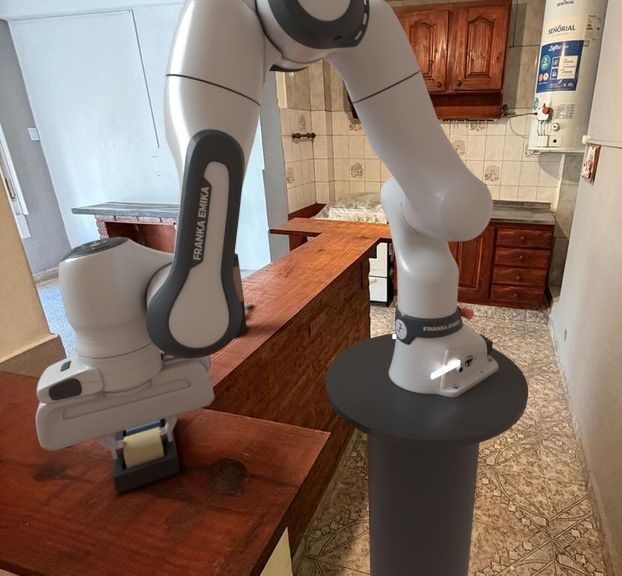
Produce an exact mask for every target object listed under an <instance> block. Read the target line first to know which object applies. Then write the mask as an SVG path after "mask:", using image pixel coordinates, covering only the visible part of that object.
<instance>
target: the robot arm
mask: <svg viewBox="0 0 622 576" xmlns="http://www.w3.org/2000/svg"><path fill="white" fill-rule="evenodd" d="M322 59H323V60H324V61H326V62H327V63H328V64H329V65H330V66H332V67H333V68H334V70H335V71H336V72H337V73H338V75H339V77H340V78H341V79H342V81H343V82H344V85H345V88H346V91H347V93H348V96H349V98H350V101H351V103H352V105H353V108H354V109H355V110H354V111H355V112H356V115H357V117H358V119H359V122H360V124H361V127H362V128H363V131H364V133H365V135H366V138H367V140H368V143H369V145H370V147H371V150H372V152H373V153H374V154H375V156H376V157H377V158H378V159H379V160H380V161H381V162H382V164H384V166H385V167H386V168H387V169H388V171H389V172H390V174H391V175H390V176H389V177H388V178H387V179H386V180H385V182H384V183H383V185H382V187H381V190H380V195H379V201H380V205H381V210H382V211H383V213H384V215H385V217H386V219H387V222H388V227H389V231H390V236H391V240H392V245H393V251H394V256H395V263H396V271H397V273H396V275H397V276H396V277H397V278H396V279H397V282H396V283H397V304H396V306H395V307H394V331H395V332H394V333H396V334H393V339H395V338H396V342H395V349H394V354H393V359H392V363H391V366H390V369H389V377H390V379H391V380H392V381H393V382H394V383H395V384H396V385H398V386H399V387H401V388H403V389H406V390H409V391H412V392H416V393H424V394H439V395H443V396H447V397H457V396H459V395H460V394H462V393H464V392H465V391H467V390H468V389H470V388H471V387H473V386H475V385H476V384H478V383H479V382H481V381H482V380H484V379H485V378H487V377H489V376H490V375H492V374H493V373H495V372H496V371H498V364H497V362H496V361H495V360H494V359H493V358H492V357H491V356H490V355H489V353H490V352H492V348H493V346H494V341H493V340H491V339H489V338H488V337H486V336H485V335H483V334H482V333H478V332H477V331H475V330H474V329H472V328H471V327H469V326H468V325H467V324H465V322H463V318H465V319H466V320H468V321H470V320H472V319H473V317H474V315H475V311H474V310H473V309H471V308H468V307H467V306H464V307H462V308H461V306H460V305H458V296H459V294H458V293H459V276H460V272H459V271H460V270H459V266H458V264H457V262H456V260H455V259H454V257H453V255H452V252H451V249H450V247H449V246H450V245H449V242H467V241H471V240H473V239H475V238H477V237H479V236H480V235H481V234H482V233H483V232H484V231H485V229H486V228H487V226H488V225H489V223H490V221H491V217H492V214H493V209H494V204H493V203H494V202H493V201H494V200H493V196H492V193H491V191H490V188H489V187H488V186H487V184H486V183H485V182H484V181H482V180H481V179H480V178H478V177H477V176H476V175H475V174H474V173H473V171H471V170H470V169H469V168H468V166H467V165H466V163H465V162H464V161H463V159H462V158H461V156H460V155H459V153H458V151H457V150H456V149H455V147H454V146H453V144H452V142H451V141H450V140H449V138H448V136H447V134H446V133H445V131H444V128H443V127H442V125H441V123H440V121H439V119H438V116H437V113H436V111H435V108H434V105H433V102H432V99H431V96H430V94H429V90H428V88H427V86H426V81H425V80H424V77H423V74H422V71H421V68H420V64H419V62H418V59H417V56H416V54H415V52H414V50H413V47H412V45H411V43H410V40H409V39H408V35H407V33H406V32H405V30H404V28H403V26H402V24H401V22H400V20H399V18H398V17H397V15H396V13H395V11H394V10H393V8H392V6H391V5H390V4H389V3H387V2H386V1H385V0H184V2H183V5H182V7H181V11H180V13H179V16H178V19H177V22H176V25H175V28H174V32H173V35H172V40H171V43H170V48H169V52H168V57H167V63H166V71H165V78H164V85H163V86H164V87H163V101H162V102H163V126H164V136H165V139H166V143H167V145H168V148H169V150H170V153H171V155H172V158H173V160H174V163H175V167H176V172H177V177H178V183H179V204H178V214H177V221H176V232H175V239H174V248H173V253H172V252H171V253H170V252H165V251H161V250H157V249H154V248H150V247H147V246H145V245H142V244H140V243H137V242H136V241H133V240H132V239H130V238H129V237H122V236H114V237H106V238H101V239H96V240H92V241H89V242H86V243H82V244H81V245H79V246H75V247H73V248H72V249H70V250H69V251H68V252H67V253H66V254H65V255H64V256H63V257H62V259H61V260H60V261H59V264H58V272H57V273H58V285H59V291H60V296H61V302H62V304H63V308H64V313H65V316H66V321H67V322H68V324H69V325H70V327H71V328H72V329H73V331H74V335H75V338H76V341H75V352H76V353H74V354H72V355H70V356H69V357H68V356H67V357H66V358H64V359H61V360H59V361H57V362H55V363H53V364H51V365H49V366H47V367H46V368H45V369H44V371H43V373H42V374H41V375H40V378H39V380H38V383H37V385H36V386H37V387H36V396H37V399H38V401H39V403H38V407H37V409H36V410H37V411H36V413H35V427H36V435H37V438H38V443H39V445H40V447H41V448H43V449H45V450H46V451H49V452H55V451H58V450H62V449H65V448H68V447H72V446H75V445H78V444H82V443H86V442H89V441H93V440H96V442H97V444H98V445H99V446H101V447H103V448H104V449H106V450H107V451H109V452H110V453H111V456H112V460H113V461H114V460H115V459H118V458H121V457H124V439H123V440H120V441H116V440H115V438H113V437H112V436H111V435H112V434H113V435H114V434H115V433H116V432H120V431H123V430H127V429H130V428H133V427H137V426H140V425H144V424H147V423H150V422H154V421H157V420H161V419H164V418H166V425H165V427H163V428H160V429H159V435H160V438H161V442H162V444H164V443H167V442H171V441H173V440H172V433H171V432H172V430H173V431H174V428H175V426H176V424H177V422H178V417H177V415H181V414H184V413H188V412H191V411H194V410H195V411H196V410H198V409H201V408H205V407H208V406H210V405H211V404H212V402H213V401H214V399H215V392H214V389H213V385H212V382H211V378H210V376H209V370H210V369H211V366H212V361H211V355H214V354H216V353H218V352H220V351H222V350H223V349H224V348H226V347H227V346H228V345H229V344H230V343H231V342H232V341H233V340H234V339H235V338H236V337H235V336H236V334H237V333H238V331H239V329H240V326H241V322H242V308H241V304H240V300H239V297H238V294H237V291H236V288H235V284H234V277H233V266H234V256H235V253H236V247H237V239H238V238H237V237H238V230H239V229H238V228H239V221H240V219H239V218H240V213H241V212H240V211H241V205H242V204H241V203H242V195H243V187H244V183H245V178H246V174H247V170H248V167H249V163H250V157H251V154H252V150H253V147H254V143H255V140H256V135H257V130H258V125H259V121H260V115H261V109H262V101H263V95H264V86H265V82H266V81H267V76H268V74H269V72H279V73H297V72H301V71H304V70H305V69H307V68H309V67H310V66H312V65H314V64H316V63H318V62H319V61H321V60H322Z"/></svg>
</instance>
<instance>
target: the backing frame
mask: <svg viewBox="0 0 622 576" xmlns="http://www.w3.org/2000/svg"><path fill="white" fill-rule="evenodd" d="M161 422H162V428H163V427H165V425H166V418H164V419H161ZM171 433H172V440H173V441H171V442H167V443H164V444H163V448H164V456H163V457H160V458H157V459H154V460H151V461H148V462H145V463H142V464H139V465H136V466H133V467H130V468H127V466H126V462H125V458H124V457H121V458H118V459H115V460H114V459H113V482H114V485H115V489H116V492H117V495H120V494H123V493H126V492H128V491H131V490H133V489H137V488H140V487H142V486H145V485H148V484H150V483H153V482H156V481H158V480H162V479H164V478H167V477H170V476H173V475H175V474H179V473H180V472H181V470H180V462H179V458H178V456H179V455H178V451H177V445H176V444H177V443H176V439H175V432H174V429H173V430H172V432H171ZM114 434H115V436H114V439H115V440H116V441H120V440H123V439H124V437H127V434H126V430H123V431H120V432H116V433H114Z"/></svg>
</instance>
